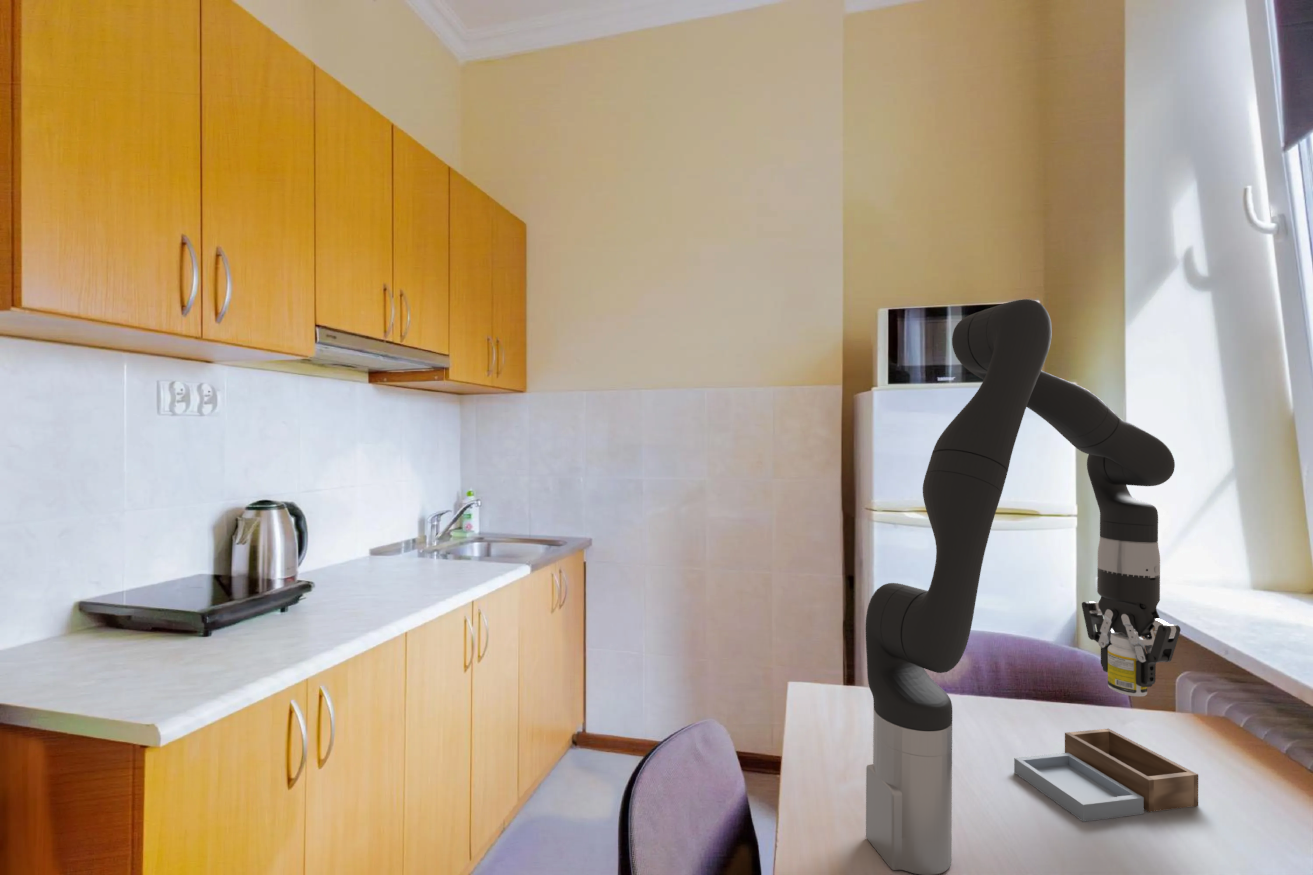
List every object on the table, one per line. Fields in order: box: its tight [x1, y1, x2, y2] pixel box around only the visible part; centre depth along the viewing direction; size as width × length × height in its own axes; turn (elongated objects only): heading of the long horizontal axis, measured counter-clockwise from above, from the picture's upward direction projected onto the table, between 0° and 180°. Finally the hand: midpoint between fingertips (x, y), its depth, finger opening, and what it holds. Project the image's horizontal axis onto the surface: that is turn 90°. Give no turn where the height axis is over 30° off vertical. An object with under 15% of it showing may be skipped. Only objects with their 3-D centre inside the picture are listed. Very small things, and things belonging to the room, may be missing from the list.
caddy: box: [1064, 728, 1199, 813], centre depth 89 cm, size 9×14×4 cm, turn 11°
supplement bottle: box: [1107, 633, 1148, 697], centre depth 89 cm, size 5×5×8 cm
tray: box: [1013, 752, 1144, 823], centre depth 86 cm, size 10×12×2 cm
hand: (1127, 678), depth 89 cm, fingers closed on supplement bottle, 4 cm apart
